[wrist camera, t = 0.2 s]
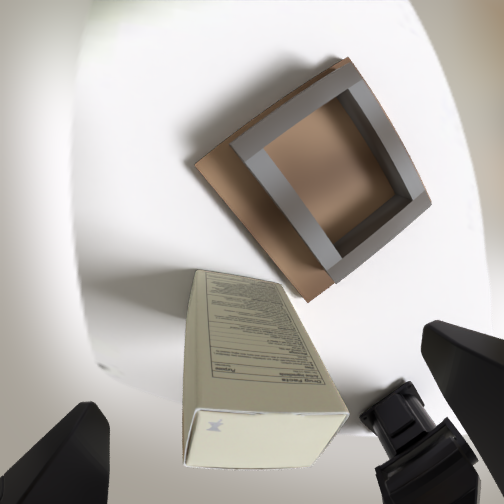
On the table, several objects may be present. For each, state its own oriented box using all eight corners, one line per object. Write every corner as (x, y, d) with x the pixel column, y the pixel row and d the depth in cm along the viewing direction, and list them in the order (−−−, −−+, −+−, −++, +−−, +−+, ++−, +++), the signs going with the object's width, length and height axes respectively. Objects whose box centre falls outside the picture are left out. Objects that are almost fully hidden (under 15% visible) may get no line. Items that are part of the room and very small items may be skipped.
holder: (425, 200, 21) (449, 209, 18) (304, 297, 22) (316, 319, 20) (343, 59, 17) (363, 48, 14) (194, 164, 18) (191, 167, 16)
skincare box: (185, 320, 22) (173, 467, 11) (195, 266, 21) (184, 406, 9) (270, 334, 23) (313, 472, 12) (287, 283, 22) (354, 415, 10)
